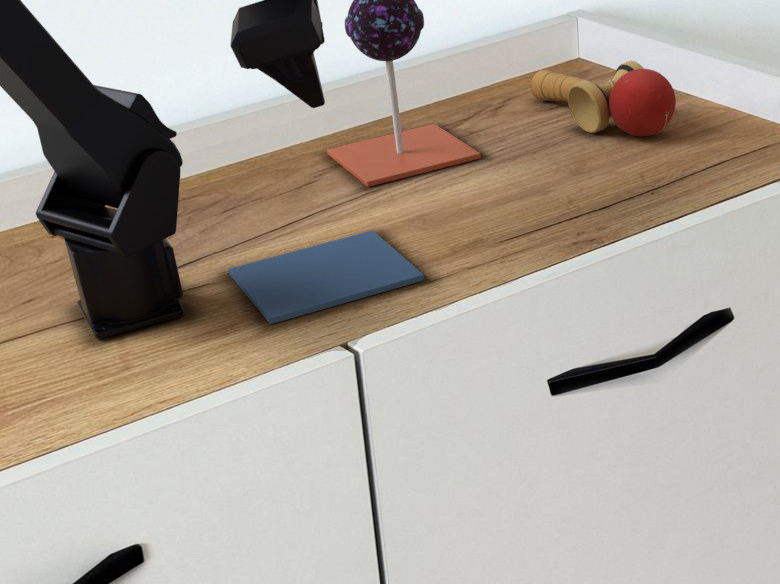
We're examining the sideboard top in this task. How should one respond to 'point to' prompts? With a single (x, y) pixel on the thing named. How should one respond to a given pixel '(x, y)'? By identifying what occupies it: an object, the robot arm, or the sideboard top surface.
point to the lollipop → (386, 39)
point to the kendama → (613, 99)
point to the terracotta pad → (402, 155)
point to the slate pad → (324, 276)
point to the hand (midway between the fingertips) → (318, 73)
